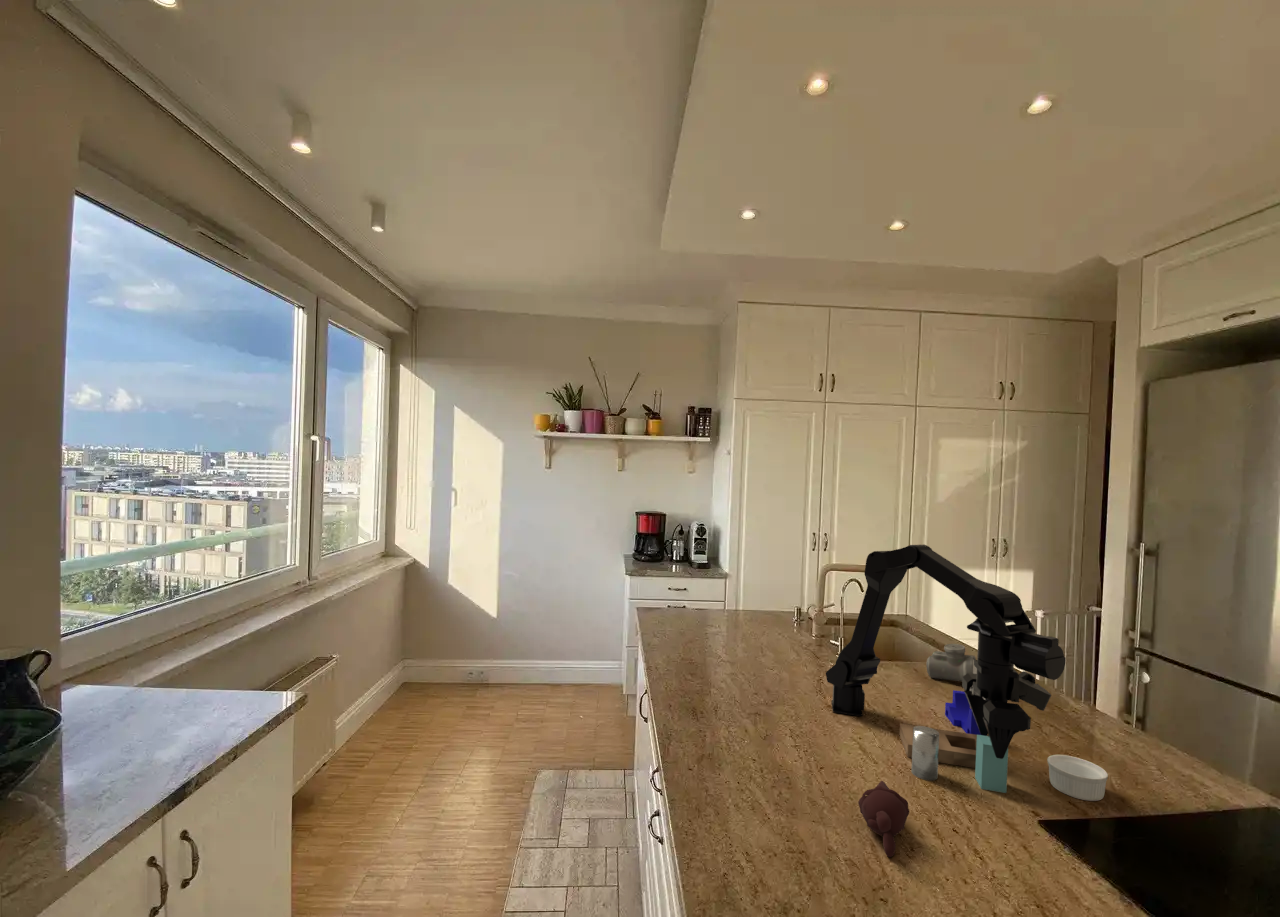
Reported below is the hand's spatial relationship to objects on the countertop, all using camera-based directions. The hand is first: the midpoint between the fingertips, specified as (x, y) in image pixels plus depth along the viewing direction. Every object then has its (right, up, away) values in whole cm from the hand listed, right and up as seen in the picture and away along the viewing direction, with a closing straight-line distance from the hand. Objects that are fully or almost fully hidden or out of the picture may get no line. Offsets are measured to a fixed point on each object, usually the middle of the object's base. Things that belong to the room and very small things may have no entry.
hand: (991, 746), depth 108 cm
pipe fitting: (+20, -8, +53) cm, 58 cm away
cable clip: (+8, -8, +24) cm, 27 cm away
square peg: (0, -7, 0) cm, 7 cm away
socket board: (-2, -7, +12) cm, 14 cm away
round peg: (-11, -7, +3) cm, 13 cm away
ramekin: (+15, -8, 0) cm, 17 cm away
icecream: (-26, -6, -15) cm, 31 cm away
